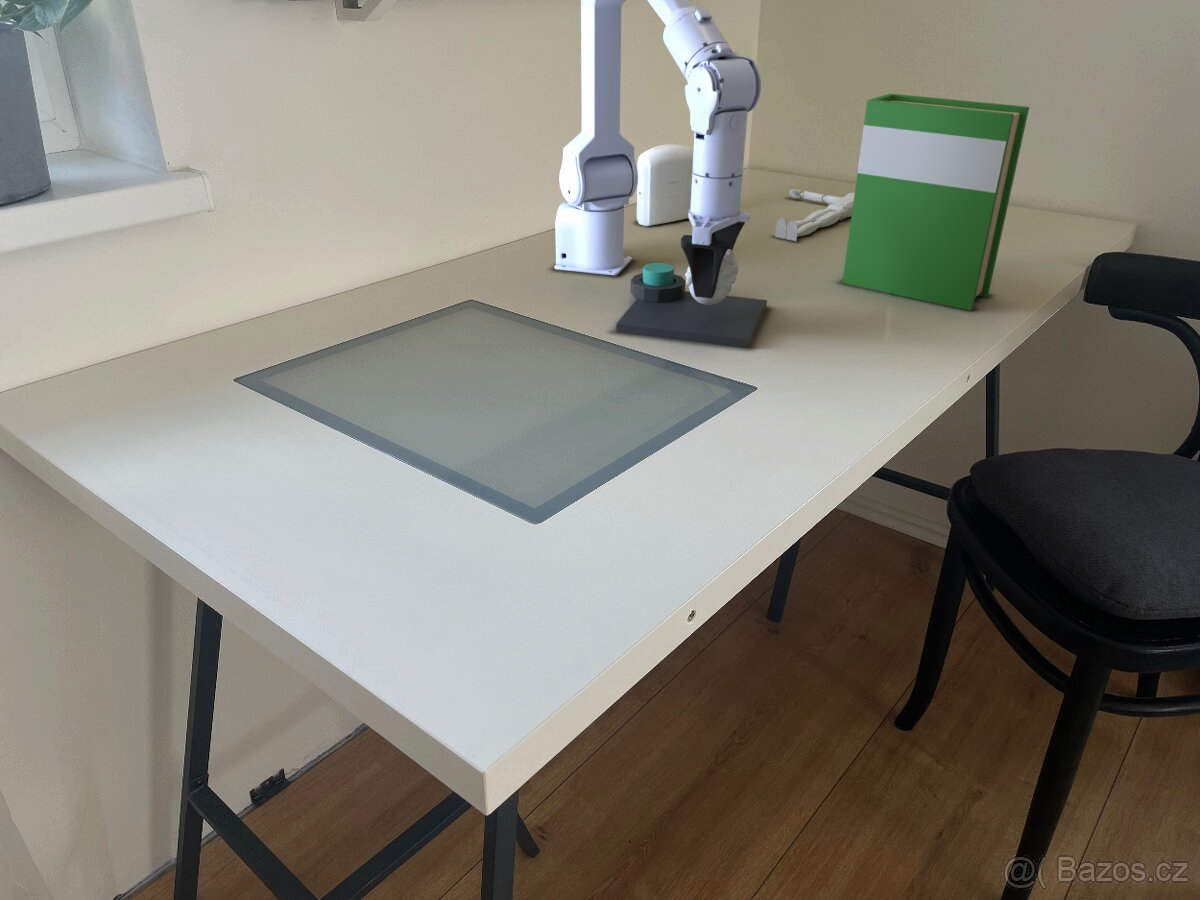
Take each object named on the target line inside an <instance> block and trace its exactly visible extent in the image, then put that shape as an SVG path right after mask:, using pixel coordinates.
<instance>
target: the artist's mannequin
mask: <svg viewBox="0 0 1200 900" xmlns="http://www.w3.org/2000/svg"><path fill="white" fill-rule="evenodd" d="M854 194H855V192H849V193H847V194H846V195H844V196H842V197H841V196H836V195H831V194H827V195H825V194H824V193H819V192H814V191H807V190H804V191H803V190H800V189H789V190H788V195H789V196H790V197H792V198H799V199H800V198H802V197H803V199H806V200H809V201H814V202H818V203H824V202H825V203H826V204H828V205H827V207H826V208H825V209H821V208H820V209H818V210H815V211H813V212H811V213H810V214H809V215H808V216H806V217H805V218H804V219H798V220H790V221H789V222H788V223H787V221H786V219H785V218H779V219H778V220H777V221H776V224H775V238H778V239H782V240H783V239H784V240H788V241H793V242H797V240H798V237H804V236H808V235H810V234H812V233H813V232H815V231H816V230H817V229H818V228H825V227H829V226H832V225H834V224H836V223H837V222H838V221H843V220H844V219H847V218H850V217H851V216H852V209H853V202H854Z"/></svg>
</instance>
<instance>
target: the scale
mask: <svg viewBox="0 0 1200 900" xmlns="http://www.w3.org/2000/svg"><path fill="white" fill-rule="evenodd" d="M630 294H631V296H632V297H633V298H634V299H636V300H635V301H634V302H633V303H632V304H631V305H630V306H629V308H628V309H627V310H626V311H625V312H624V314H623V315H622V316H621V318H619V320H618V321H617V322H616V326H615V327H616V329H615V331H616V333H619V334H627V335H636V336H644V337H652V338H660V339H667V340H677V341H685V342H693V343H701V344H710V345H717V346H726V347H734V348H742V349H749V347H750V344H751V342H752V341H753V338H754V335H755V334H756V332H757V329H758V327H759V326H760V324H761V321H762V319H763V317H764V315H765V312H766V310H767V305H768V300H767V299H761V298H751V297H741V296H732V295H727V296H726V297H725V299H723V300H722V301H721V302H719V303H717V304H714V305H704V304H701V303H699V302H698V301H696V300H695V299H694V298H693V296H692V295H691V293H690V291H686V279H684V277H683V276H682V275H679V274H677V273H674V283H673V284H671V285H668V286H652V285H647V284H644V283H643V272H641V273H638V274H635V275H634V276H633V277H631V279H630Z"/></svg>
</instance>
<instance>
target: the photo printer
mask: <svg viewBox="0 0 1200 900" xmlns="http://www.w3.org/2000/svg"><path fill="white" fill-rule="evenodd" d="M693 151H694V150H693V149H692V148H691V147H689V146H686V145H685V146H684V145H681V144H678V143H677V144H676V143H667V144H661V145H657V146H654V147H651V148H649V149H647V150H645V151H643V152H642V153H641V154H640V155H639V156H638V159H637V163H636V167H637V171H638V184H637V188H636V220H637V223H638V224H639V225H641V226H644V227H651V226H655V225H661V224H666V223H671V222H676V221H683V220H685V219H689V217H688V214H689V210H690V208H691V189H692V171H693Z"/></svg>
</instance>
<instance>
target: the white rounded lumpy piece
mask: <svg viewBox="0 0 1200 900" xmlns="http://www.w3.org/2000/svg"><path fill="white" fill-rule="evenodd" d="M739 270H740V265H739V260H738V259H737V256H736V255H735V253H733V251H732V250H730V249H728V250H727V252H726V254H725V256H724V259H723V261H722V264H721V268H720V272H719V276H718V281H717V286H716V290H715V293H714V295H713V297H712V298H702V297H695V294H694V289H693V283H692V277H691V271H690V267H689V266H688V267H687V269H686V272H685V274H684V277H685V281H686V284H685V286H686V287H688V290H689V292H690V293H691V295H692V296H693V298H694V299H695V300H696V301H698V302H699V303H701V304H704V305H714V304H717V303H719V302H721V301H722V300H723V299H725V297H726V296H729V294H730V292H731V291H732V289H733V288H732V287H733V284H735V283H736V282H737V276H738V274H739Z"/></svg>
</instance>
